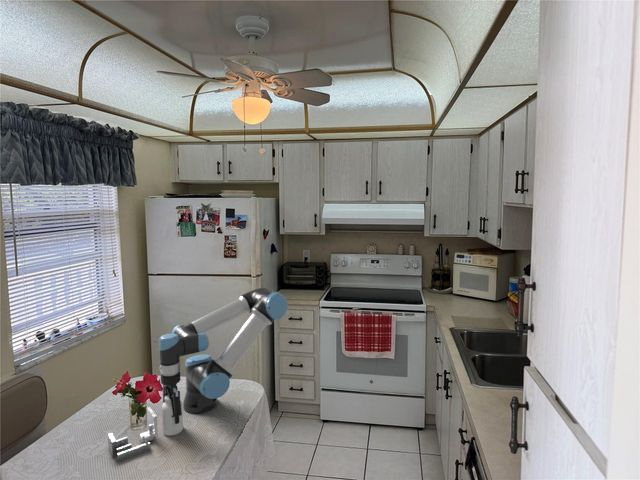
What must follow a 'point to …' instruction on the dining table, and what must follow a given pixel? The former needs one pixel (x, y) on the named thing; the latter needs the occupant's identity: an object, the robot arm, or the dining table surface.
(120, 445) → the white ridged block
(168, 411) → the pill bottle
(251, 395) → the dining table surface
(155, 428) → the white l-shaped bracket
